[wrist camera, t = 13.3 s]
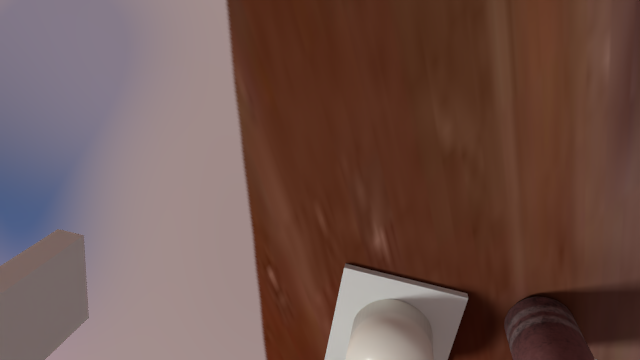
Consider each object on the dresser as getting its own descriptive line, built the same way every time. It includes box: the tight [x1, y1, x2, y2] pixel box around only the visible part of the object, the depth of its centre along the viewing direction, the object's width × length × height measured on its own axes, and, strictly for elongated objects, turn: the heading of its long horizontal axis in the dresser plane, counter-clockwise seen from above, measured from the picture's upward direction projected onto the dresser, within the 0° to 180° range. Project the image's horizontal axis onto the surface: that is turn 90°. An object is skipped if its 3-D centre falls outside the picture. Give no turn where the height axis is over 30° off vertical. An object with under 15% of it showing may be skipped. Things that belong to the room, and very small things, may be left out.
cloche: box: [345, 299, 434, 360], centre depth 44 cm, size 8×8×8 cm
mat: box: [325, 264, 468, 360], centre depth 48 cm, size 12×12×1 cm
